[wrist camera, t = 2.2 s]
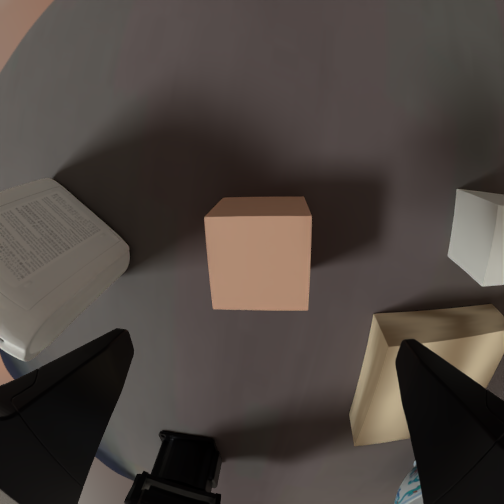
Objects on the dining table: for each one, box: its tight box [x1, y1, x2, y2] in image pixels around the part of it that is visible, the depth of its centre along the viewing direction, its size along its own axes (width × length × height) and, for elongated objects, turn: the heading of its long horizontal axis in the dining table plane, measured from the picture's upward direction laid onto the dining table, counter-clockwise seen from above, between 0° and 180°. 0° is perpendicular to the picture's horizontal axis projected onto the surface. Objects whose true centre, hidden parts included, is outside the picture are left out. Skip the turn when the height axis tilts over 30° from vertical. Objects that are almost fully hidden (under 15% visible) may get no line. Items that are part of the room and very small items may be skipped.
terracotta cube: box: [204, 197, 312, 310], centre depth 17 cm, size 5×5×5 cm
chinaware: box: [395, 461, 423, 504], centre depth 25 cm, size 15×15×8 cm
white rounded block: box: [0, 178, 130, 361], centre depth 14 cm, size 10×4×12 cm, turn 53°
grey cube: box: [448, 189, 504, 286], centre depth 15 cm, size 5×5×5 cm
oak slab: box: [349, 304, 504, 446], centre depth 20 cm, size 12×12×4 cm
